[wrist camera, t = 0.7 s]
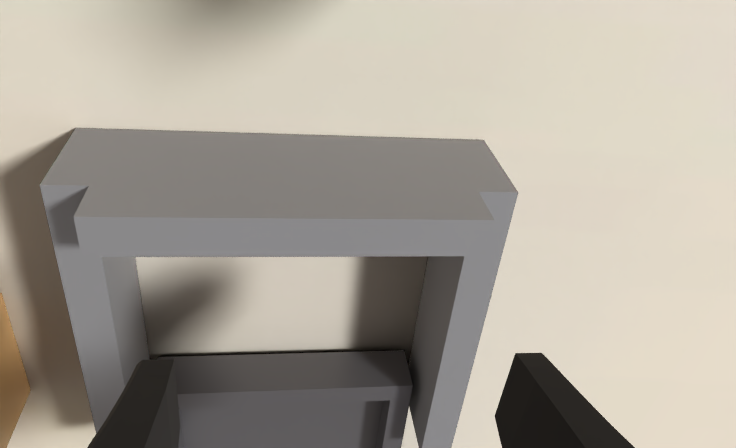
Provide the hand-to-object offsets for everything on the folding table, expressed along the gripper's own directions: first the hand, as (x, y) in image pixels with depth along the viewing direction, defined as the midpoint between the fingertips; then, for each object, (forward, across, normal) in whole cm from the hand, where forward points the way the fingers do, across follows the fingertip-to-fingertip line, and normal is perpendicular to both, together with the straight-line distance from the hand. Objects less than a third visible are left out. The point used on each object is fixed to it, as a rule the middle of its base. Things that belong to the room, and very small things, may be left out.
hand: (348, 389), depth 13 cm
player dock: (+9, +1, +4) cm, 10 cm away
